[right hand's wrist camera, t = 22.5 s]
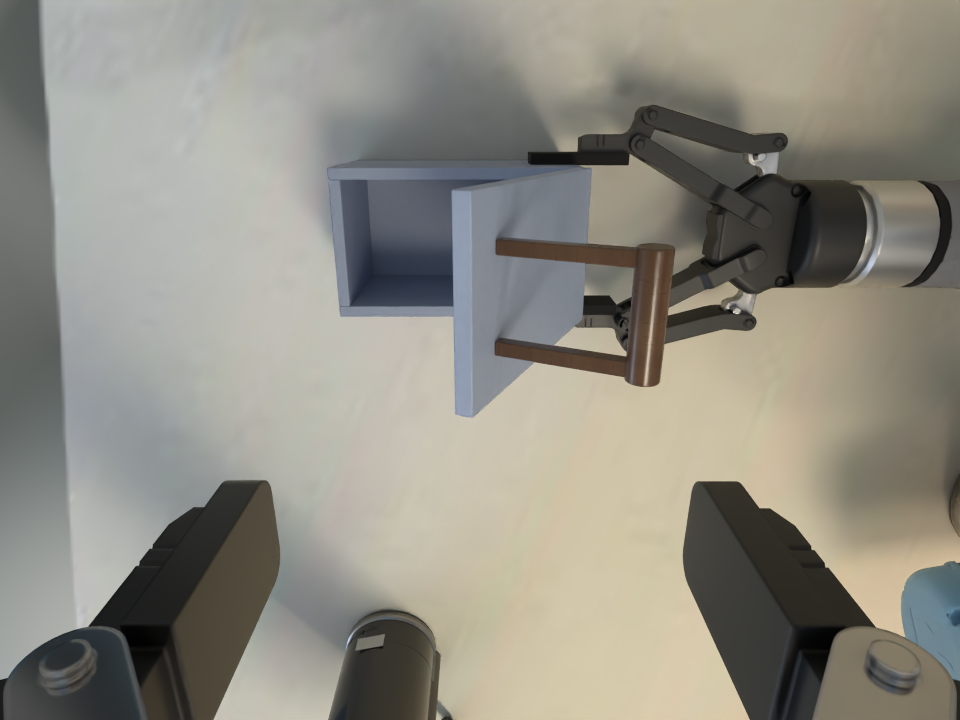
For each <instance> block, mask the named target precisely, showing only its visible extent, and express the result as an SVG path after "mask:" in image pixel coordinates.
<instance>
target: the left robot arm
mask: <svg viewBox="0 0 960 720" xmlns="http://www.w3.org/2000/svg"><path fill="white" fill-rule="evenodd" d="M654 129H655V130H659V131H662V132H665V133H668V134H672V135H675V136H678V137H682V138H685V139H688V140H692V141H695V142H698V143H702V144H705V145H708V146H712V147H715V148H718V149H722V150H725V151H729V152H735V153H743V160H744V162H745V163H746V164H748V165H752V166H754V167H755V168H756V170H757V175H755V176H753V177H752V178H750V179H749V180H748V181H746V182H745V183H743V184H742V185H740V186H739V187H737V188H736V189H734V190H732V189H731V188H729V187H727V186H726V185H723V184H721V183H720V182H718V181H716V180H715V179H713V178H711V177H710V176H708V175H707V174H705V173H703V172H702V171H700V170H699V169H697V168H695V167H694V166H692V165H691V164H689V163H687V162H686V161H684V160H683V159H681V158H679V157H678V156H676V155H675V154H673V153H671V152H670V151H668V150H667V149H665V148H664V147H662V146H660V145H659V144H657V143H656V142H654V141H652V140H651V139H650V138H651V135H652V133H653V131H654ZM787 143H788V139H787V137H786V135H784V134H783V133H756V134H748V133H745V132H741V131H738V130H735V129H732V128H728V127H725V126H722V125H719V124H715V123H712V122H709V121H706V120H702V119H699V118H696V117H692V116H689V115H686V114H683V113H679V112H676V111H673V110H670V109H666V108H663V107H660V106H656V105H650V106H643V107H640V108H639V109H637V111H636V112H635V118H634V121H633V123H632V126H631V127H630V129H629V130H628V131H627V132H626V133H624V134H585V135H583V136H581V137H578V152H528V163H529V164H530V165H628V164H629V154H631V155H633V156H634V157H636V158H638V159H639V160H641V161H642V162H644V163H646V164H647V165H649V166H651V167H652V168H654V169H655V170H657V171H659V172H660V173H662V174H664V175H665V176H667V177H668V178H670V179H672V180H673V181H675V182H677V183H678V184H680V185H681V186H683V187H685V188H686V189H688V190H690V191H691V192H693V193H694V194H696V195H697V196H698V197H700V198H701V199H703V200H705V201H706V202H708V203H709V204H711V205H713V207H712V209H711V211H708V213H707V221H706V223H707V230H708V233H707V236H706V238H705V241H704V243H703V251H702V254H703V255H705V257H703V258H701V259H699V260H697V261H695V262H693V263H692V264H691V265H690V266H689V267H688V268H687V269H685V270H683V271H681V272H679V273H677V274H675V275H673V276H672V281H671V290H670V299H669V307H671V306H673V305H675V304H677V303H679V302H681V301H683V300H685V299H687V298H689V297H691V296H693V295H695V294H697V293H699V292H701V291H703V290H705V289H711V288H714V287H717V286H719V285H721V284H723V283H725V282H727V281H729V282H730V283H732V284H733V285H734V286H735V287H737V288H738V289H739V290H738V293H737V294H736V295H735V296H733V297H730V298H726V299H724V300H723V301H722V302H721V305H709V306H704V307H700V308H696V309H692V310H689V311H685V312H681V313H677V314H673V315H669V316H667V325H666V333H665V342H664V344H666V343H670V342H674V341H678V340H682V339H686V338H690V337H694V336H698V335H702V334H706V333H710V332H714V331H718V330H722V329H731V330H743V331H749V330H751V329H753V328H754V327H755V325H756V318H755V317H754V316H752V311H753V307H754V303H755V299H756V295H757V294H759V293H761V292H763V291H765V290H767V289H771V288H829V287H834V286H836V285H837V286H839V287H842V288H868V287H940V288H956V289H960V181H930V182H926V181H907V180H857V181H851V182H847V181H843V180H787V179H784V178H783V177H781V176H780V175H778V174H777V171H778V160H779V152H780V151H782V150H784V149H785V147H786V146H787ZM631 300H632V297H630V298H628V299H626V300H624V301H622V302H621V303H619V304H617V305H616V304H615V302H614V301H613V300H612V299H611V297H610V296H584V301H583V317H582V320H581V321H580V322H579V323H578V324H576V325H575V327H609V328H613V329H615V333H616V338H617V340H618V341H619V343H620V344H621V346H622V347H623V349H624V350H625V351H627V344H628V333H629V322H630V311H631ZM669 307H668V308H669ZM950 513H951V520H952V523H953V526H954V528H955V530H956V532H957V534H958V535H959V536H960V478H959V479H958V481H957V483H956V486H955V488H954V491H953V494H952V499H951V506H950ZM901 614H902V622H903V628H904V633H905V637H906V638H907V639H909V640H910V641H912V642H914V643H916V644H918V645H919V646H921V647H922V648H924V649H925V650H926V651H928V652H929V653H930V654H932V655H933V656H934V657H935V658H936V659H937V660H938V661H939V662H940V663H941V664H942V665H943V666H944V667H945V668H946V670H947V671H948V672H949V674H950V675H951V677H952V679H955V680H958V681H960V563H956V562H954V561H951V562H946V563H945V564H944V565H942V566H937V567H931V568H925V569H921V570H918V571H916V572H915V573H913V574H912V575H911V576H910V577H909V578H908V579H907V581H906V583H905V586H904V591H903V592H902V598H901Z"/></svg>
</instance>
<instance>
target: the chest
mask: <svg viewBox="0 0 960 720" xmlns="http://www.w3.org/2000/svg"><path fill="white" fill-rule="evenodd" d="M573 168H583V167H581V166H578V165H530V164H529V163H528V160H357V161H353V162H349V163H345V164H341V165H336V166H332V167H328V168H327V171H328V179H329V181H328V182H329V194H330V205H331V217H332V228H333V239H334V251H335V262H336V274H337V285H338V297H339V306H340V307H339V308H340V316H341V317H427V316H454V304H453V247H452V190H453V189H457V188H463V187H469V186H475V185H481V184H486V183H492V182H498V181H504V180H510V179H515V178H521V177H527V176H533V175H539V174H544V173H550V172H556V171H562V170H568V169H573Z"/></svg>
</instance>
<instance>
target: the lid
mask: <svg viewBox="0 0 960 720" xmlns="http://www.w3.org/2000/svg"><path fill="white" fill-rule="evenodd" d="M591 172H592V168H573V169H568V170H562V171H556V172H550V173H544V174H539V175H533V176H527V177H521V178H515V179H510V180H504V181H498V182H492V183H486V184H481V185H475V186H469V187H463V188H457V189H453V190H452V247H453V304H454V362H455V414H456V415H460V416H465V417H469V418H473V417H474V416H475V415H476V414H478V413H479V412H480V411H481V410H482V409H483V408H484V407H485V406H486V405H488V404H489V403H490V402H491V401H492V400H493V399H494V398H495V397H496V396H498V395H499V394H500V393H501V392H502V391H503V390H504V389H505V388H506V387H508V386H509V385H510V384H511V383H512V382H513V381H514V380H515V379H516V378H518V377H519V376H520V375H521V374H522V373H523V372H524V371H525V370H526V369H528V368H529V367H530V366H531V365H532V364H533V363H534V362H537V363H543V364H549V365H555V366H561V367H567V368H573V369H579V370H585V371H591V372H597V373H603V374H609V375H615V376H621V377H624V378H625V381H626V382H628V383H629V384H632V385H635V386H640V387H652V386H656V385H658V384H659V382H660V377H661V368H662V360H663V351H664V342H665V333H666V325H667V316H668V307H669V299H670V290H671V281H672V272H673V264H674V255H675V248H674V247H673V246H670V245H666V244H656V243H648V244H640V245H638V246H637V247H624V246H611V245H598V244H587V237H588V221H589V205H590V188H591ZM586 264H597V265H608V266H619V267H630V268H634V278H633V289H632V300H631V311H630V322H629V333H628V344H627V355H626V357H625V356H619V355H612V354H605V353H599V352H592V351H586V350H579V349H573V348H566V347H559V346H553V345H554V344H555V343H556V342H558V341H559V340H560V339H561V338H562V337H563V336H564V335H565V334H566V333H568V332H569V331H570V330H571V329H572V328H573V327H574V326H575V325H576V324H578V323H579V322H580V321H581V320H582V317H583V301H584V285H585V269H586Z"/></svg>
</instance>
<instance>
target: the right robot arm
mask: <svg viewBox="0 0 960 720" xmlns="http://www.w3.org/2000/svg"><path fill="white" fill-rule="evenodd" d="M279 564H280V546H279V539H278V532H277V525H276V518H275V511H274V504H273V497H272V491H271V487H270V485H269V483H268V482H267V481H265V480H226V481H224V482H223V483H222V484H221V485H220V486H219V488H218V489H217V491H216V492H215V493H214V495H213V496H212V497H211V499H210V500H209V502H208V503H207V504H206V506H205V507H193V508H192V509H191V510H189V511H188V512H186V513H185V514H183V515H182V516H180V517H179V518H178V519H176V520H175V521H173V522H172V523H170V524H169V525H168V526H167V528H166V529H165V530H164V531H163V533H162V534H161V535H160V536H159V538H158V539H157V540H156V541H155V543H154V544H153V548H152V549H149V550H148V552H147V553H146V554H145V555H144V557H143V558H142V559H141V561H140V564H139V566H136V567H135V568H134V569H133V571H132V572H131V573H130V574H129V576H128V577H127V578H126V580H125V581H124V582H123V583H122V585H121V586H120V587H119V588H118V590H117V591H116V592H115V593H114V595H113V596H112V597H111V599H110V600H109V601H108V602H107V604H106V605H105V606H104V607H103V609H102V610H101V611H100V612H99V614H98V615H97V616H96V618H95V619H94V620H93V621H92V623H91V624H90V625H89V626H88V627H85V628H81V629H77V630H73V631H70V632H67V633H65V634H62V635H60V636H58V637H55V638H53V639H51V640H50V641H48V642H46V643H44V644H42V645H41V646H39V647H38V648H36V649H35V650H34V651H32V652H31V653H30V654H28V655H27V656H26V657H25V658H24V659H23V660H22V661H21V662H20V663H19V664H18V665H17V666H16V667H15V668H14V670H13V671H12V672H11V674H10V675H9V677H8V678H6V679H2V680H0V720H213V719H214V717H215V715H216V713H217V710H218V708H219V706H220V704H221V701H222V699H223V697H224V695H225V693H226V690H227V688H228V686H229V684H230V682H231V679H232V677H233V675H234V673H235V671H236V668H237V666H238V664H239V662H240V660H241V657H242V655H243V653H244V651H245V648H246V646H247V644H248V642H249V640H250V637H251V635H252V633H253V631H254V629H255V626H256V624H257V622H258V620H259V618H260V615H261V613H262V611H263V609H264V606H265V604H266V602H267V600H268V598H269V595H270V593H271V591H272V589H273V587H274V584H275V582H276V579H277V575H278V571H279ZM683 565H684V572H685V576H686V580H687V583H688V585H689V588H690V590H691V592H692V594H693V596H694V599H695V601H696V603H697V605H698V607H699V609H700V612H701V614H702V616H703V618H704V620H705V623H706V625H707V627H708V629H709V631H710V633H711V636H712V638H713V640H714V642H715V644H716V647H717V649H718V651H719V653H720V655H721V657H722V660H723V662H724V664H725V666H726V668H727V671H728V673H729V675H730V677H731V679H732V681H733V684H734V686H735V688H736V690H737V692H738V695H739V697H740V699H741V701H742V703H743V705H744V708H745V710H746V712H747V714H748V716H749V719H750V720H960V681H958V680H955V679H952V677H951V675H950V674H949V672H948V671H947V670H946V668H945V667H944V666H943V665H942V664H941V663H940V662H939V661H938V660H937V659H936V658H935V657H934V656H933V655H932V654H930V653H929V652H928V651H926V650H925V649H924V648H922V647H921V646H919V645H918V644H916V643H914V642H912V641H910V640H909V639H907V638H905V637H902V636H900V635H898V634H896V633H893V632H890V631H887V630H883V629H879V628H876V627H875V626H874V624H873V623H872V622H871V621H870V619H869V618H868V617H867V616H866V614H865V613H864V612H863V611H862V609H861V608H860V607H859V606H858V604H857V603H856V602H855V601H854V599H853V598H852V597H851V596H850V594H849V593H848V592H847V591H846V589H845V588H844V587H843V586H842V584H841V583H840V582H839V581H838V579H837V578H836V577H835V575H834V574H833V573H832V572H831V570H830V569H829V568H825V563H824V562H823V560H822V559H821V558H820V557H819V555H818V554H817V553H816V552H815V550H812V549H811V545H810V544H809V543H808V542H807V540H806V539H805V538H804V537H803V535H802V534H801V533H800V532H799V530H798V529H797V528H796V526H794V525H793V524H792V523H790V522H789V521H787V520H786V519H784V518H783V517H781V516H780V515H779V514H777V513H776V512H774V511H773V510H771V509H770V508H759V507H758V506H757V504H756V503H755V502H754V500H753V499H752V498H751V496H750V495H749V494H748V492H747V491H746V490H745V488H744V487H743V486H742V484H741V483H739V482H737V481H699V482H696V483H695V484H694V486H693V489H692V493H691V500H690V506H689V513H688V520H687V527H686V534H685V540H684V547H683ZM435 650H436V644H435V639H434V636H433V634H432V632H431V631H430V629H429V628H428V627H427V626H426V625H425V624H424V623H423V622H422V621H420V620H419V619H417V618H415V617H413V616H411V615H408V614H405V613H400V612H392V611H387V612H379V613H375V614H371V615H369V616H367V617H365V618H363V619H361V620H360V621H359V622H358V623H357V624H356V625H355V626H354V627H353V628H352V630H351V632H350V634H349V638H348V641H347V646H346V653H345V657H344V661H343V665H342V668H341V672H340V676H339V680H338V684H337V688H336V691H335V695H334V699H333V703H332V707H331V711H330V715H329V719H328V720H436V710H437V697H438V683H439V670H440V657H441V656H440V655H439V654H438V653H437V652H436V651H435ZM442 720H452V719H451V718H450V717H444V718H443V719H442Z"/></svg>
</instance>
